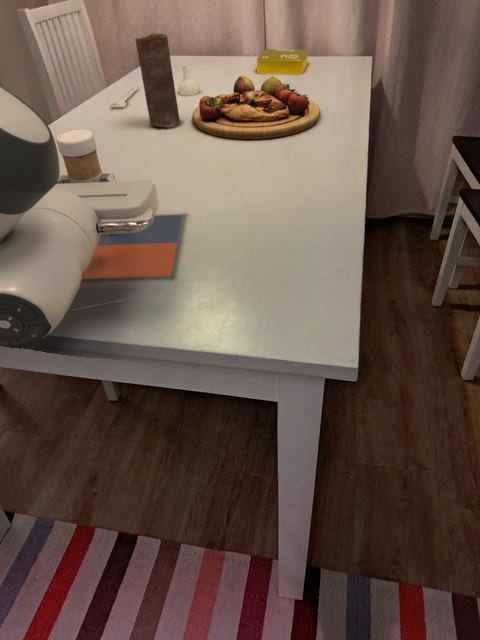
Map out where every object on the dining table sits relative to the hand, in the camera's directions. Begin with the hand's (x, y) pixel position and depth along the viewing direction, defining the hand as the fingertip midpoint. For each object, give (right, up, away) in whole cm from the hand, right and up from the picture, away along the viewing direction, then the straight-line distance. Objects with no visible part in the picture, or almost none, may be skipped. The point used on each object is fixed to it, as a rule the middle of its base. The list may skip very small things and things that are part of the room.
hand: (88, 179), depth 63 cm
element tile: (+34, +64, +92) cm, 118 cm away
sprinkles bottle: (0, -6, +4) cm, 7 cm away
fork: (-13, +45, +72) cm, 86 cm away
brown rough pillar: (+1, +30, +55) cm, 62 cm away
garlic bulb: (+5, +48, +75) cm, 89 cm away
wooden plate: (+24, +32, +55) cm, 68 cm away
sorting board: (0, -7, +11) cm, 14 cm away
